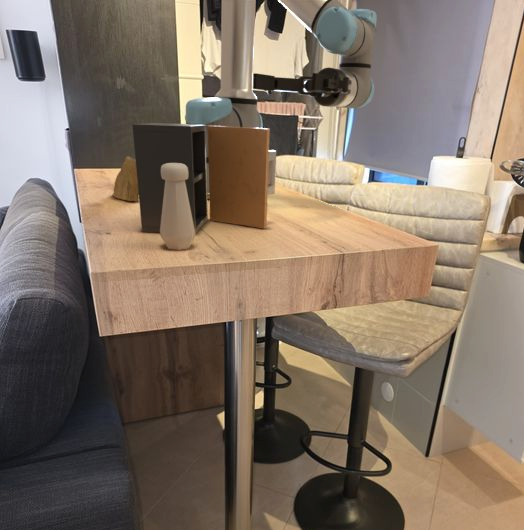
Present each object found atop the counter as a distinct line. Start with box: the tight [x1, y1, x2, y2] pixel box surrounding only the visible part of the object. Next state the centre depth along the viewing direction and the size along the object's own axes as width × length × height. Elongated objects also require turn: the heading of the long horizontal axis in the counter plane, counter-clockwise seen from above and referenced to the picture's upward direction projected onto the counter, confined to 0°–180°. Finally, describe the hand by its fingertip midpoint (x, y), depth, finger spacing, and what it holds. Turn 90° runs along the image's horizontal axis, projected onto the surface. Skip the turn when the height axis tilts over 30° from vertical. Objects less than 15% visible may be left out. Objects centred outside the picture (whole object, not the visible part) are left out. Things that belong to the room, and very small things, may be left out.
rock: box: [111, 155, 139, 202], centre depth 113 cm, size 11×9×10 cm
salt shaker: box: [159, 163, 196, 251], centre depth 73 cm, size 6×6×13 cm
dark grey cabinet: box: [131, 122, 209, 235], centre depth 86 cm, size 10×13×18 cm
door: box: [208, 126, 277, 229], centre depth 91 cm, size 7×13×18 cm, turn 60°
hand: (282, 81), depth 88 cm, fingers open, 13 cm apart
